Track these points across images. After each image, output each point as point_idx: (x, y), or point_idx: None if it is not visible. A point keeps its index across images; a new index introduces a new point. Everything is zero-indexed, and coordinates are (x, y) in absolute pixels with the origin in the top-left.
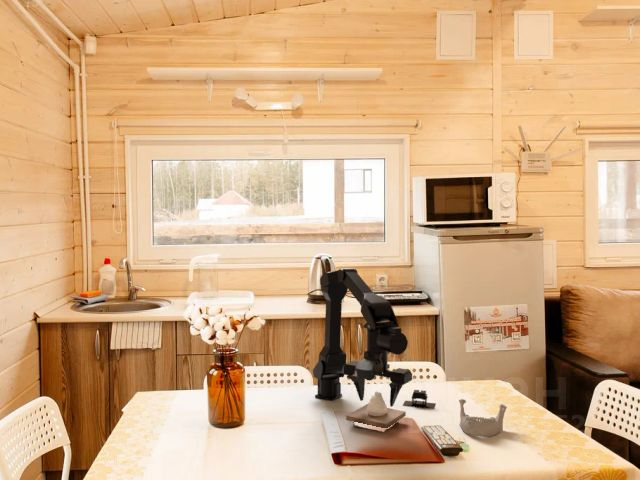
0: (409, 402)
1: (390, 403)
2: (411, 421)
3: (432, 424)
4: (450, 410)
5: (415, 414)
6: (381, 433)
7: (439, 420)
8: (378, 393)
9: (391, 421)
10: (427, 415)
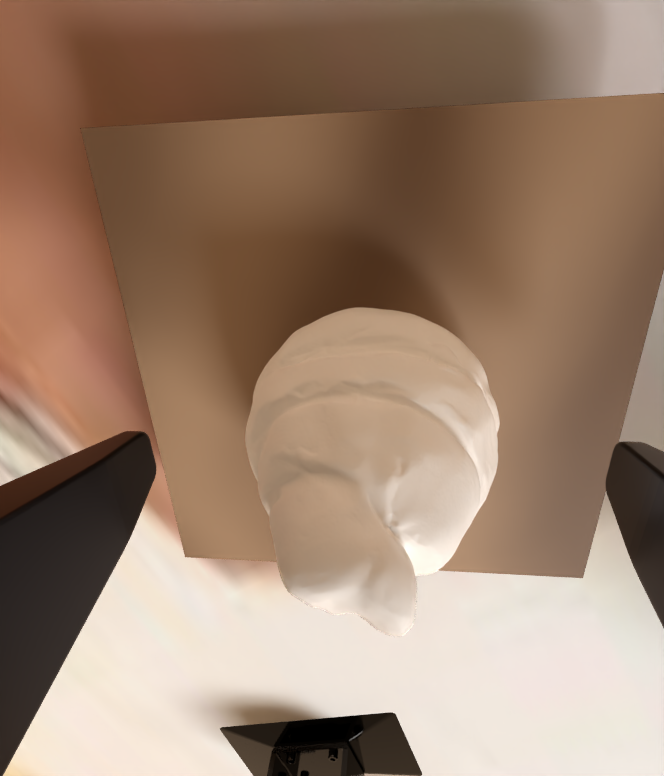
0: (378, 757)
1: (113, 446)
2: None
3: None
4: (143, 734)
5: (250, 633)
6: None
7: None
8: (318, 565)
9: (119, 273)
10: (186, 644)
